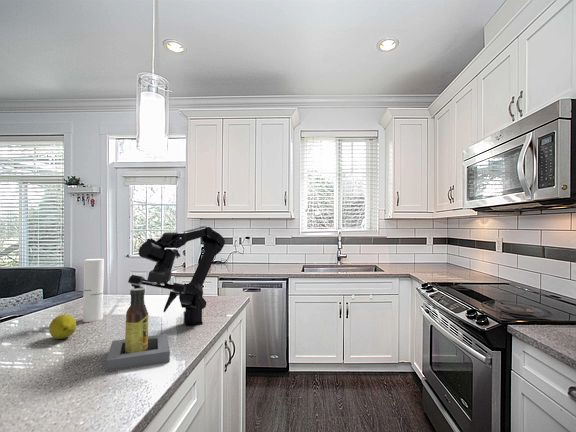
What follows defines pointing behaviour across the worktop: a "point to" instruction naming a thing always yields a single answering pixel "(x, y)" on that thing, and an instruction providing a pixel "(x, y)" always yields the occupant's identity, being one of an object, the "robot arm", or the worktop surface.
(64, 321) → the lemon
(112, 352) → the socket frame
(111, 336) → the worktop surface
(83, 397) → the worktop surface
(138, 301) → the sauce bottle
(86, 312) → the cylindrical container
